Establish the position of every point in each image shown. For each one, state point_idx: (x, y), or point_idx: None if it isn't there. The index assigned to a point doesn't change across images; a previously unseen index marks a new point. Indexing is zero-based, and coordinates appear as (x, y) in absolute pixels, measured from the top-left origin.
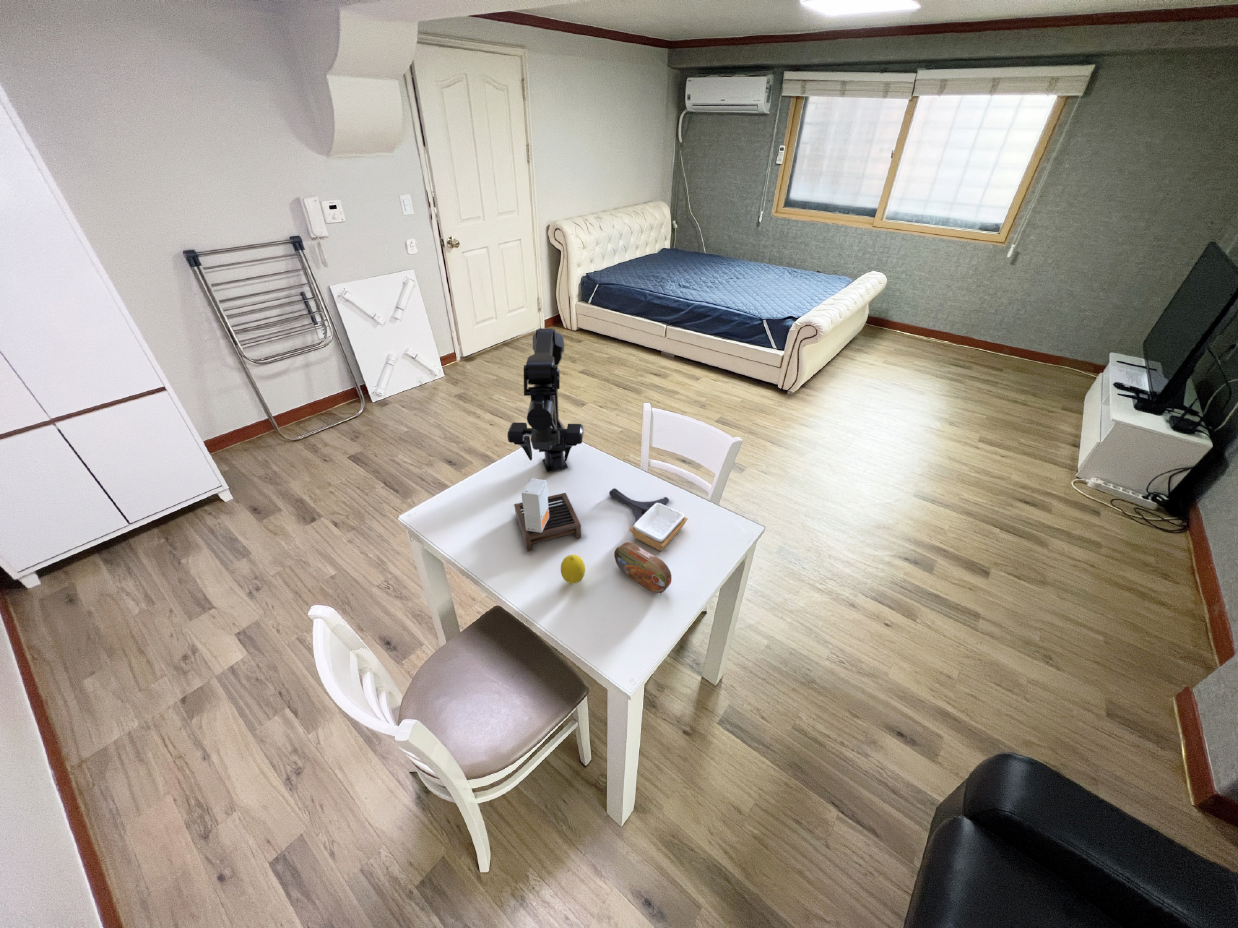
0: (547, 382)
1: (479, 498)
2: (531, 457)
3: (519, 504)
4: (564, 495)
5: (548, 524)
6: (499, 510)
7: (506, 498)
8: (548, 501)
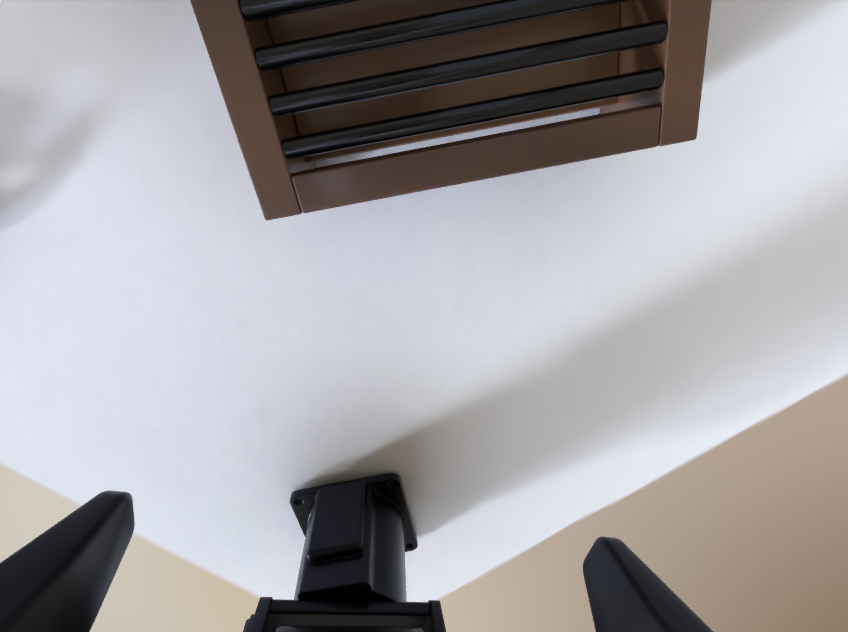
0: None
1: (768, 329)
2: (613, 583)
3: (657, 126)
4: (273, 181)
5: None
6: (703, 214)
7: (638, 310)
8: (415, 120)
